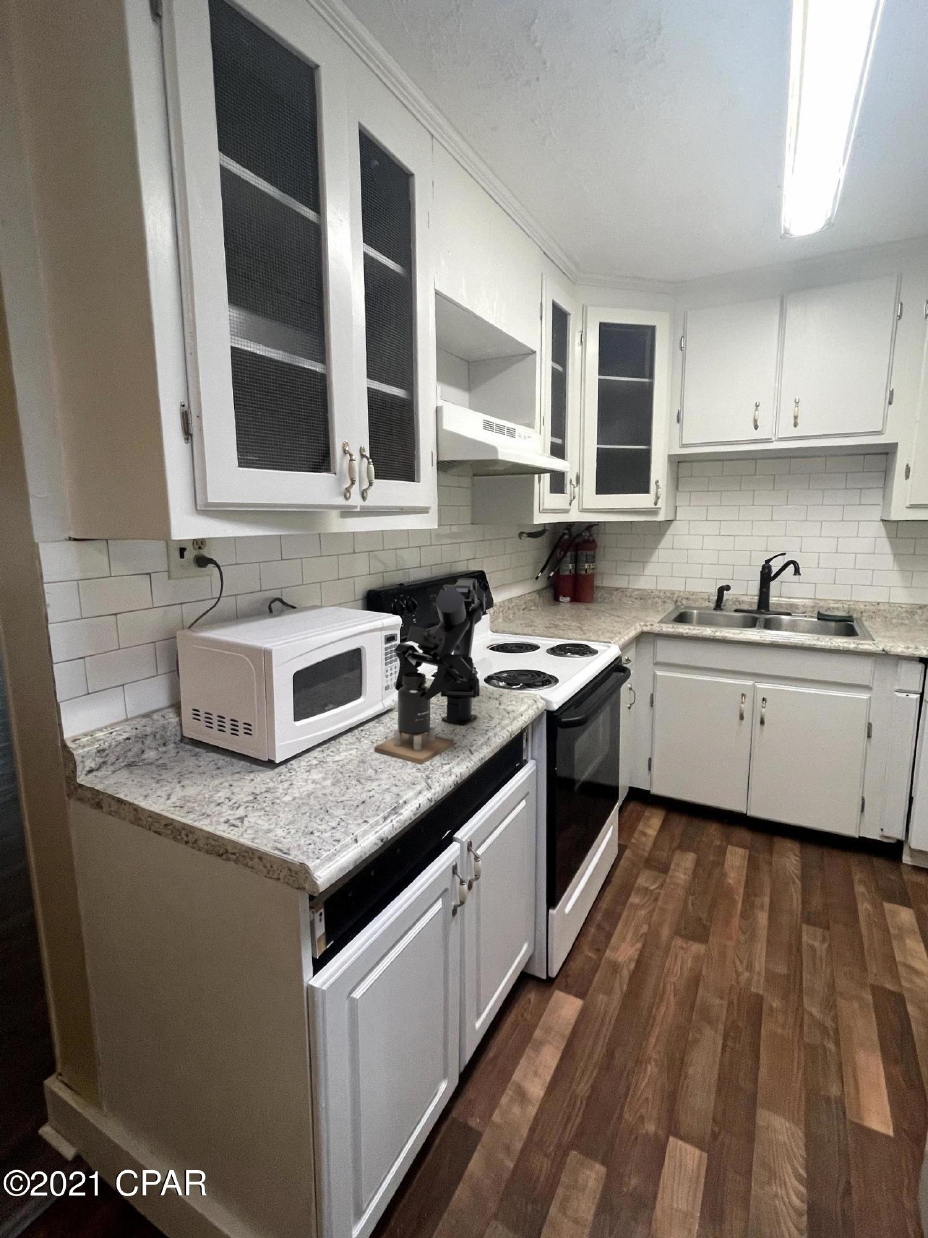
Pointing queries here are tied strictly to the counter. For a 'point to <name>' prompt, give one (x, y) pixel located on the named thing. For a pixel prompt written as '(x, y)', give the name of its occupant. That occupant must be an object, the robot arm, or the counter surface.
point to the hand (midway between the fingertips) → (411, 694)
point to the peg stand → (414, 746)
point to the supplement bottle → (413, 705)
